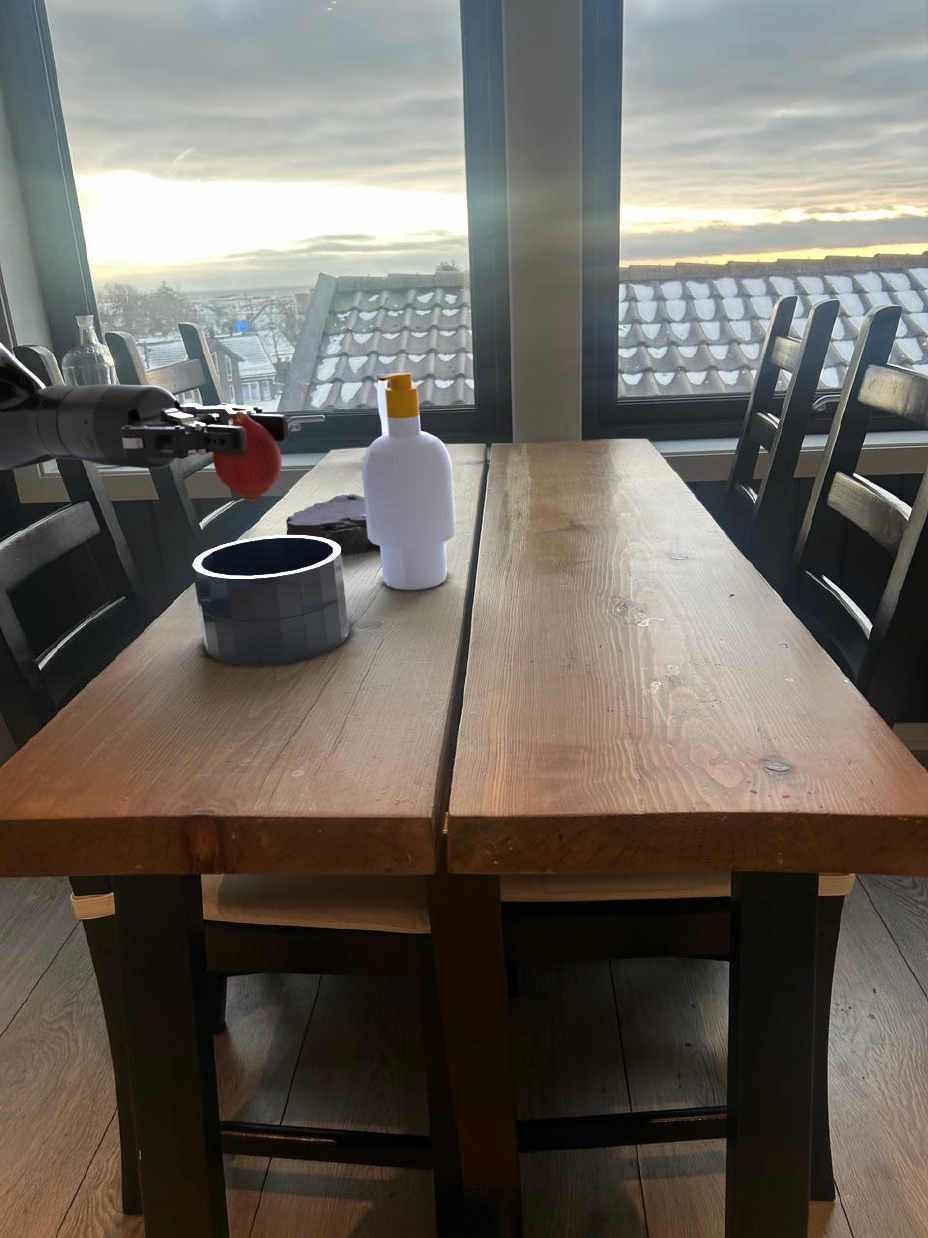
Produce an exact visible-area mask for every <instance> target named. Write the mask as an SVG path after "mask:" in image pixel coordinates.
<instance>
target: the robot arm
mask: <svg viewBox="0 0 928 1238" xmlns="http://www.w3.org/2000/svg"><path fill="white" fill-rule="evenodd" d="M263 409H264V408H263V407H259V406H249V405H240V404H231V403H227V402H222V403H221V404H218V405H210V406H209V405H208V406H207V405H206V406H202V405H201V404H199V403H187V404H186V403H185V404H180V402H179V401H178V399H177V398H176V397H175V396H174V394H173V393H171V392H170V391H169V390H167V389H165V388H163V387H161V386H157V385H146V384H145V385H143V384H142V385H141V384H115V383H114V384H111V383H99V384H92V385H62V384H61V385H59V384H58V385H49V386H46V384H44V383H43V382H42V381H41V380H40V379H39V378H38V377H37V376H36V375H35V374H34V373H32V372H31V371H30V370H29V369H28V368H27V367H26V366H25V365H23V363H21V361H19V360H18V359H17V358H16V357H15V356H14V355H13V354H12V353H11V352H10V351H9V350H8V349H7V348H6V347H5V346H4V345H3V344H2V343H1V342H0V471H7V470H8V471H9V470H15V469H21V468H27V467H31V466H34V465H39V464H44V463H47V462H50V461H53V460H56V459H63V460H74V461H75V460H76V461H85V462H90V463H93V464H98V465H103V466H117V467H126V468H137V469H138V468H139V469H150V470H158V469H159V470H160V469H163V468H165V467H167V466H169V465H170V464H172V463H173V462H174V461H175V460H176V459H179V460H184V459H185V458H188V457H190V456H197V455H199V456H204V455H206V454H209V453H213V452H217V453H232V454H240V453H244V452H246V451H247V440H246V432H245V429H244V428H243V427H241V426H230V425H231V424H232V423H234V418H233V416H232V415H234V414H235V412H237V411H242V412H244V413H245V414H247V415H248V416H249V417H250V418H251V419H252V420H253V421H255V422H257V423H259V424H260V425H262V426H263V427H264V428H265V429H266V430H267V431H268V432H269V433H270V434H271V435H272V436H273V438H274V439H275V441H276V442H284V441H287V440H288V439H289V438H290V430H289V429H290V428H289V422H288V421H289V419H288V417H287V416H286V415H284V414H272V413H271V414H269V413H264V410H263Z"/></svg>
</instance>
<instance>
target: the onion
mask: <svg viewBox="0 0 928 1238" xmlns="http://www.w3.org/2000/svg"><path fill="white" fill-rule="evenodd" d="M232 416H233V418H234V423H232V424H231V425H230V426H241V427H243V428H244V429H245V432H246V440H247V451H246V452H244V453H240V454H232V453H217V452H212V456H213V457H212V460H213V461H212V462H213V467H214V469H215V472H216V474H217V476H218V478H219V480H220V481H221V483H222V484H224V485H225V486H226V487H228V488H229V489H231V490H232V491H234V492H235V493H237V494H239V495H240V496H241V497H242V498H243V499H245V500H246V501H249V502H255V501H257V500H259V499H260V498H261V496H263V495H264V494H265V493H267V491H269V489H271V487H272V486H273V485H274V484H275V483H276V481H277V479H278V478H279V475H280V474H281V470H282V459H283V458H282V453H281V450H280V447H279V445H278V443H277V441H275V439H274V438H273V436H272V435H271V434H270V433H269V432H268V431H267V430H266V429H265V428H264V427H263V426H262V425H260V424H259V423H257V422H255V421H253V420H252V419H251V418H250V417H249V416H248V415H247V414H245V413H244V412H242V411H237V412H235V414H234V415H232Z"/></svg>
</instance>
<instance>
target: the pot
mask: <svg viewBox="0 0 928 1238" xmlns="http://www.w3.org/2000/svg"><path fill="white" fill-rule="evenodd" d="M191 569H192V574H193V581H194V586H195V594H196V600H197V606H198V613H199V618H200V625H201V626H200V627H201V632H202V639H203V644H204V646H205V650H206V652H207V654H208V655H209V656H210V657H212V658H213V659H215V660H218V661H220V662H223V663H227V664H232V665H238V666H251V667H252V666H254V667H255V666H256V667H257V666H258V667H259V666H273V665H274V666H275V665H283V664H284V665H285V664H289V663H290V664H291V663H295V662H299V661H304V660H308V659H311V658H315V657H317V656H321V655H323V654H325V653H327V652H330V651H332V650H334V649H336V648H337V647H339V646H341V644H343V643H344V642H345V641H346V639H347V638H348V636H349V633H350V628H349V626H350V625H349V613H348V605H347V596H346V595H347V594H346V584H345V574H344V564H343V555H342V553H341V547H340V546H339V545H338V544H336V543H335V542H334V541H331V540H327V539H324V538H319V537H311V536H287V535H273V536H272V535H271V536H260V537H255V538H249V539H242V540H238V541H233V542H229V543H226V544H222V545H219V546H217V547H214V548H211V549H208V550H206V551H204V552H202V553H201V554H200V555H198V556H197V557H195V559H194V560H193V562H192V564H191Z"/></svg>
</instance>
